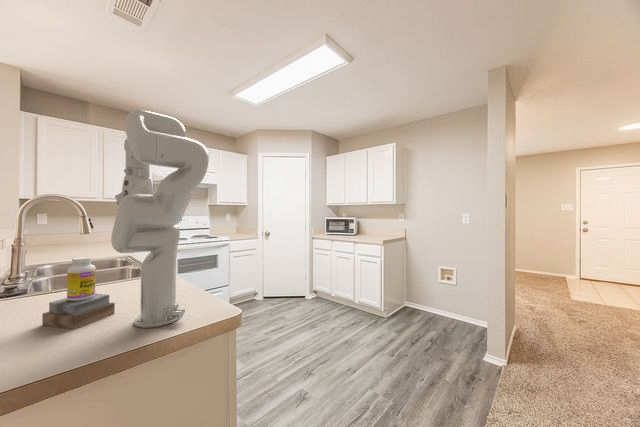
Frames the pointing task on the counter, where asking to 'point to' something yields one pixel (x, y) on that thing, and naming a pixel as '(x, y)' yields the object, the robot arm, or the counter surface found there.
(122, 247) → the robot arm
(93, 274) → the supplement bottle
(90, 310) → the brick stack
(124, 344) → the counter surface
